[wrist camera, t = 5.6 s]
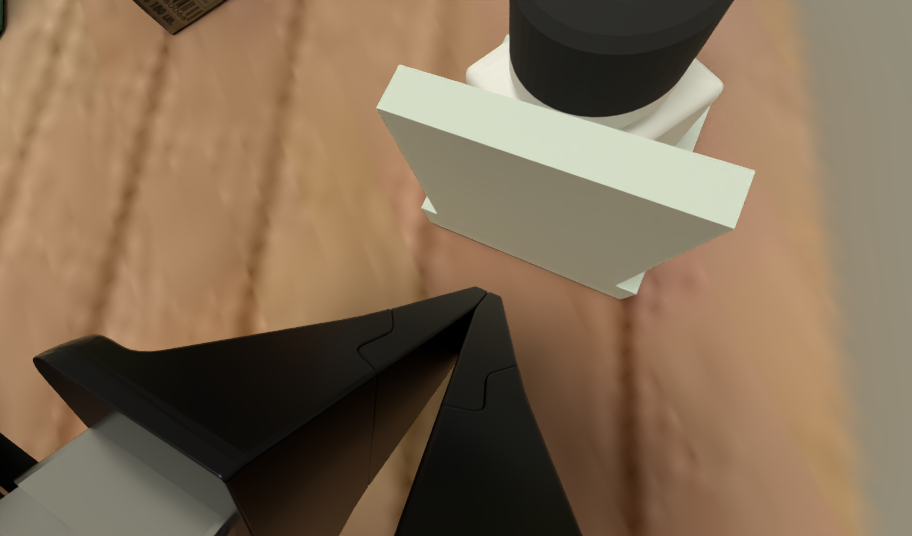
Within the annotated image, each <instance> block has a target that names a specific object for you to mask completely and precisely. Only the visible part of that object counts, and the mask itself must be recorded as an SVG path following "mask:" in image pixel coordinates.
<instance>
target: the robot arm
mask: <svg viewBox="0 0 912 536" xmlns="http://www.w3.org/2000/svg"><path fill="white" fill-rule="evenodd" d="M33 363H34V365H35V367H36V368H37V370H38V371H39V372H40V374H41V375H42V376H43V377H44V378H45V379H46V381H47V382H48V383H49V384H50V385H51V386H52V387H53V389H54V390H55V391H56V392H57V393H58V394H59V395H60V397H61V398H62V399H63V400H64V401H65V402H66V403H67V404H68V406H69V407H70V408H71V409H72V410H73V411H74V412H75V414H76V415H77V416H78V417H79V418H80V419H81V420H82V422H83V423H84V424H85V425H86V426H87V427H88V429H86V430H85V431H83V432H82V433H81V434H79V435H78V436H76V437H75V438H73V439H72V440H70V441H69V442H68V443H66V444H65V445H63V446H62V447H60V448H59V449H57V450H56V451H55V452H53V453H52V454H50V455H49V456H47V457H46V458H44V459H43V460H42V461H40V462H38V461H36V460H35V459H34V458H32V457H31V456H30V455H28V454H27V453H26V452H24V451H23V450H22V449H21V448H19V447H18V446H17V445H15V444H14V443H13V442H11V441H10V440H9V439H8V438H6V437H5V436H4V435H2V434H1V433H0V536H339V535H340V533H341V531H342V529H343V527H344V525H345V524H346V522H347V520H348V518H349V516H350V515H351V513H352V511H353V509H354V508H355V506H356V504H357V503H358V501H359V500H360V498H361V497H362V495H363V493H364V492H365V491H366V489H367V488H368V485H370V483H371V482H372V481H373V479H374V478H375V476H376V475H377V474H378V472H379V471H380V469H381V468H382V466H383V465H384V464H385V462H386V461H387V459H388V458H389V456H390V455H391V454H392V452H393V451H394V449H395V448H396V447H397V445H398V444H399V442H400V441H401V439H402V438H403V437H404V435H405V434H406V432H407V431H408V430H409V428H410V427H411V425H412V424H413V422H414V421H415V420H416V418H417V417H418V415H419V414H420V412H421V411H422V410H423V408H424V407H425V405H426V404H427V403H428V401H429V400H430V398H431V397H432V395H433V394H434V393H435V391H436V390H437V388H438V387H439V386H440V384H441V383H442V381H443V380H444V378H445V377H446V376H447V374H448V373H449V371H450V370H451V368H452V367H453V366H454V364H455V363H456V364H455V367H454V369H453V372H452V375H451V378H450V381H449V383H448V386H447V389H446V392H445V395H444V397H443V400H442V403H441V406H440V409H439V411H438V414H437V417H436V420H435V422H434V425H433V428H432V431H431V434H430V437H429V439H428V442H427V445H426V448H425V451H424V453H423V456H422V459H421V462H420V465H419V467H418V470H417V473H416V476H415V479H414V481H413V484H412V487H411V490H410V493H409V495H408V498H407V501H406V504H405V507H404V509H403V512H402V515H401V518H400V521H399V523H398V526H397V529H396V532H395V535H394V536H583V535H582V533H581V530H580V528H579V525H578V523H577V521H576V518H575V516H574V513H573V511H572V508H571V506H570V503H569V501H568V498H567V496H566V493H565V491H564V489H563V486H562V484H561V481H560V479H559V476H558V474H557V471H556V469H555V466H554V464H553V461H552V459H551V457H550V454H549V452H548V449H547V447H546V444H545V442H544V439H543V437H542V434H541V432H540V429H539V427H538V424H537V422H536V420H535V417H534V415H533V412H532V409H531V407H530V404H529V401H528V399H527V396H526V393H525V390H524V386H523V383H522V379H521V375H520V371H519V368H518V365H517V360H516V356H515V352H514V348H513V344H512V340H511V336H510V331H509V327H508V323H507V319H506V315H505V311H504V307H503V302H502V298H501V297H500V296H498V295H495V294H493V293H490V292H489V293H487V291H486V290H483V289H481V288H478V287H471V288H468V289H464V290H460V291H456V292H453V293H449V294H445V295H441V296H438V297H434V298H430V299H426V300H423V301H419V302H415V303H411V304H408V305H404V306H400V307H396V308H393V309H391V310H390V309H387V310H383V311H380V312H376V313H371V314H367V315H363V316H358V317H353V318H348V319H342V320H337V321H331V322H325V323H319V324H313V325H307V326H302V327H296V328H290V329H284V330H278V331H272V332H266V333H260V334H255V335H249V336H243V337H237V338H231V339H225V340H219V341H213V342H207V343H202V344H196V345H190V346H184V347H178V348H172V349H166V350H159V351H136V350H130V349H128V348H125V347H123V346H121V345H120V344H118V343H116V342H115V341H113V340H111V339H109V338H107V337H105V336H102V335H98V334H92V335H88V336H85V337H81V338H78V339H75V340H71V341H69V342H66V343H63V344H61V345H58V346H56V347H53V348H51V349H49V350H47V351H45V352H43V353H41V354H39V355H37V356H35V357H34V358H33Z"/></svg>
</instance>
